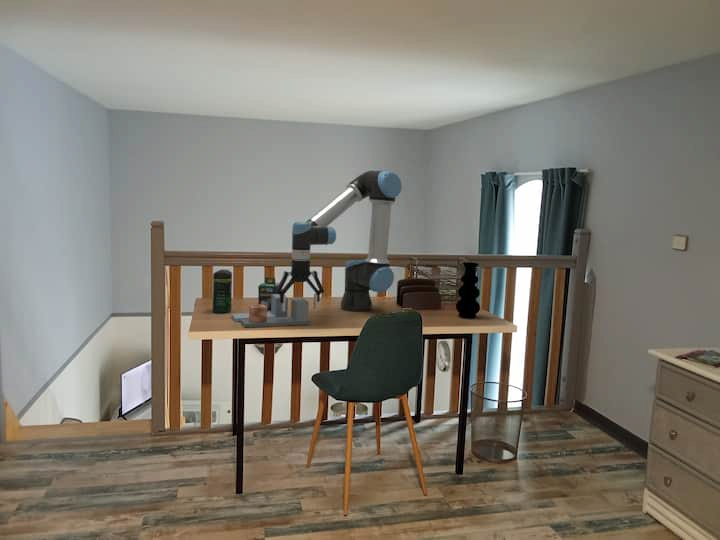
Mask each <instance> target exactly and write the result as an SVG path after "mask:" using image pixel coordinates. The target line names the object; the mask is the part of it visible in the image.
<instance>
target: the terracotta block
mask: <svg viewBox="0 0 720 540" xmlns="http://www.w3.org/2000/svg"><path fill="white" fill-rule="evenodd" d="M267 312H268V310H267V307H266V306H265V305H258V304H249V306H248V313H249V320H250V321H251V322H252V323H258V322H267Z"/></svg>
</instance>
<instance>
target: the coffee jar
mask: <svg viewBox="0 0 720 540" xmlns="http://www.w3.org/2000/svg"><path fill="white" fill-rule="evenodd" d="M212 277H213V278H212V311H213V313H214V312H215V313H218V314H223V313H229V312H231V310H232V298H233V297H232V293H233V289H232V287H233V283H232V282H233V273H232V271H230V270H229V269H219V270H217V271H215V272H213V275H212Z"/></svg>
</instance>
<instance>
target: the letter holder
mask: <svg viewBox="0 0 720 540" xmlns="http://www.w3.org/2000/svg"><path fill="white" fill-rule="evenodd" d="M396 285H397V287H396V303H395V305H398V306H399V307H401V308H412V309H418V310H417V311H420V310H422V311H423V310H441V309H442V293H440V292H439V288H438V287H437V286H436V280H435V279H431V278H430V279H429V278H423V277H420V278H419V277H416V278H415V277H414V278H413V277H411V278H402V279H399V280H398V281H397V284H396ZM399 307H398V308H399Z"/></svg>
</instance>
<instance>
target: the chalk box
mask: <svg viewBox="0 0 720 540" xmlns="http://www.w3.org/2000/svg"><path fill="white" fill-rule="evenodd" d="M269 280H271V282H270V281H269ZM279 284H280V282H276V278H275V276H274V277H271V276H270V277H269V276H265V278H264V282H262V283H260V284H259V285H258V286H257V287H258V292H257V293H258V295H257V296H258V299H257V300H258V302H257V303H258V304H257V305H265V306H266V307H267V311H271V294H277V293H276V292H275V291H276V289H277V287H278V285H279ZM282 289H283V288H282ZM282 289H281V291H282ZM281 291H280V292H281Z"/></svg>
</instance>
